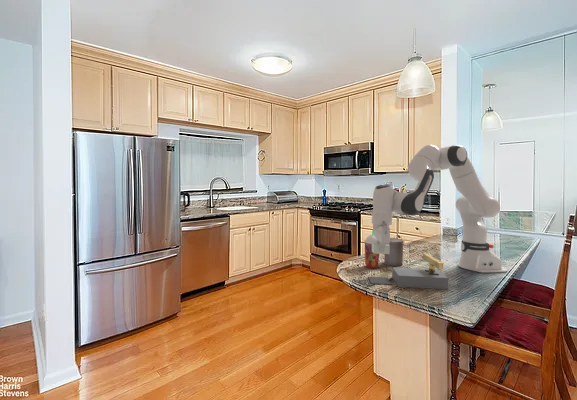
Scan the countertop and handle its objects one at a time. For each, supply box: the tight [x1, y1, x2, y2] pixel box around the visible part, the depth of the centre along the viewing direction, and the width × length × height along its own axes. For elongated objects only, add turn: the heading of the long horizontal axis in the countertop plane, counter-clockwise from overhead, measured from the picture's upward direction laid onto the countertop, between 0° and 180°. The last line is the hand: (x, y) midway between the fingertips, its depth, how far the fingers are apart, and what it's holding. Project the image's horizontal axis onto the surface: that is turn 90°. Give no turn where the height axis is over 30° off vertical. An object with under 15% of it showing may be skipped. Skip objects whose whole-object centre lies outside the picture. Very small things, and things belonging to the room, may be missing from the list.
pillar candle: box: [383, 236, 404, 267], centre depth 168 cm, size 10×10×15 cm
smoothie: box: [364, 229, 380, 269], centre depth 161 cm, size 8×8×20 cm
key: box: [422, 253, 444, 273], centre depth 137 cm, size 16×2×7 cm, turn 179°
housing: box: [391, 266, 450, 290], centre depth 138 cm, size 21×12×6 cm, turn 84°
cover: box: [372, 242, 390, 255], centre depth 139 cm, size 7×5×4 cm
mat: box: [367, 276, 392, 286], centre depth 140 cm, size 9×9×1 cm
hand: (380, 249), depth 139 cm, fingers closed on cover, 5 cm apart
